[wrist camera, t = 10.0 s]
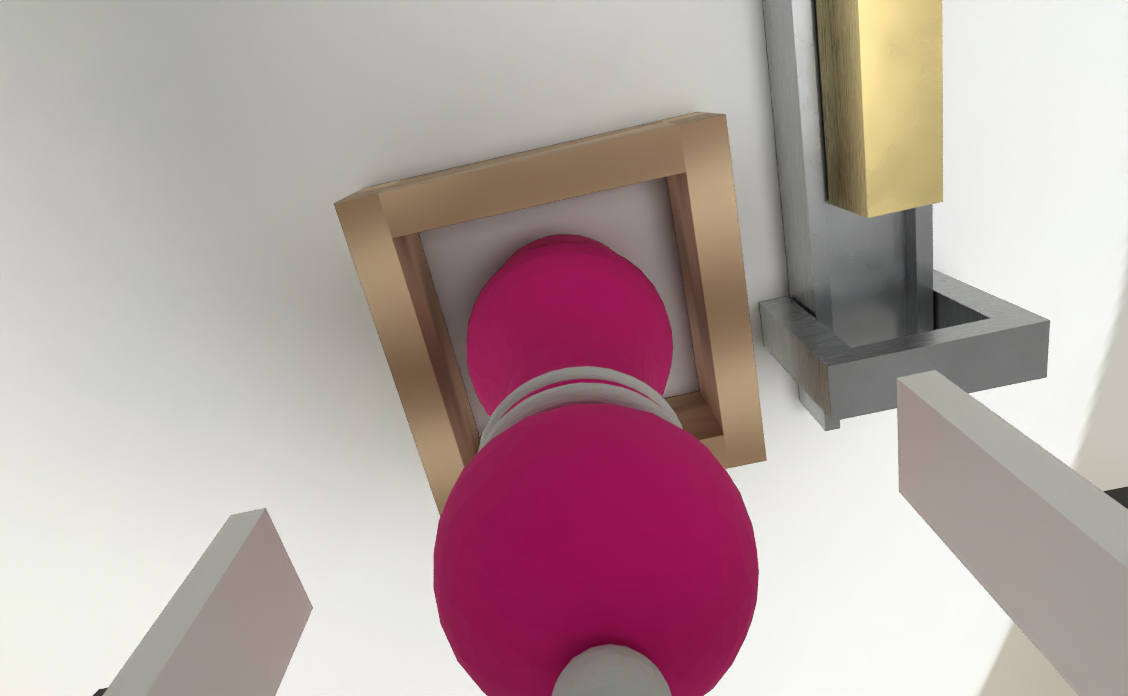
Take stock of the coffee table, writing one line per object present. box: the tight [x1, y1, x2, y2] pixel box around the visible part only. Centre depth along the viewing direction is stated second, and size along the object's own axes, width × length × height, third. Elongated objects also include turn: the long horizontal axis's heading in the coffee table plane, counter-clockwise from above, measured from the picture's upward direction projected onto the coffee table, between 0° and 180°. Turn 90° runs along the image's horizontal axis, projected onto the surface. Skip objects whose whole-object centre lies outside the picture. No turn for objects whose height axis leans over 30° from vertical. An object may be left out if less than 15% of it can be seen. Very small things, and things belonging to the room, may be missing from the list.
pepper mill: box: [434, 235, 759, 696], centre depth 18 cm, size 7×7×20 cm
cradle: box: [334, 112, 766, 517], centre depth 25 cm, size 13×13×4 cm
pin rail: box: [759, 0, 1050, 431], centre depth 22 cm, size 20×7×7 cm, turn 12°
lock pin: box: [816, 0, 943, 218], centre depth 20 cm, size 11×3×3 cm, turn 12°
